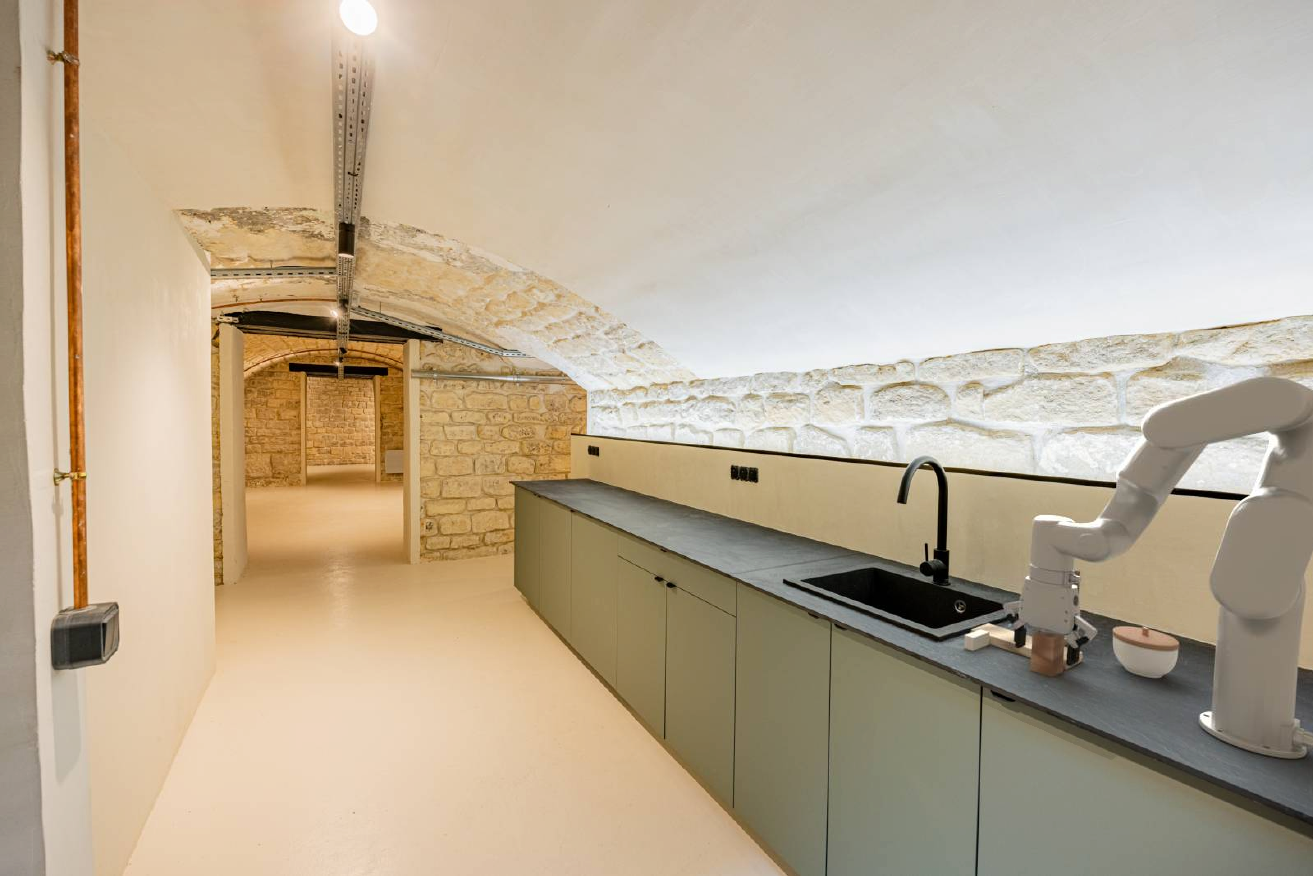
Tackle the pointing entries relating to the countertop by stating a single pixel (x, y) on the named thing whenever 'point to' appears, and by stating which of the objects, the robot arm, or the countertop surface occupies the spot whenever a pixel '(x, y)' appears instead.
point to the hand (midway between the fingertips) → (1044, 655)
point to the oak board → (1006, 641)
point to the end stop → (976, 640)
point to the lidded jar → (1145, 651)
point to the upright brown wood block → (1047, 652)
